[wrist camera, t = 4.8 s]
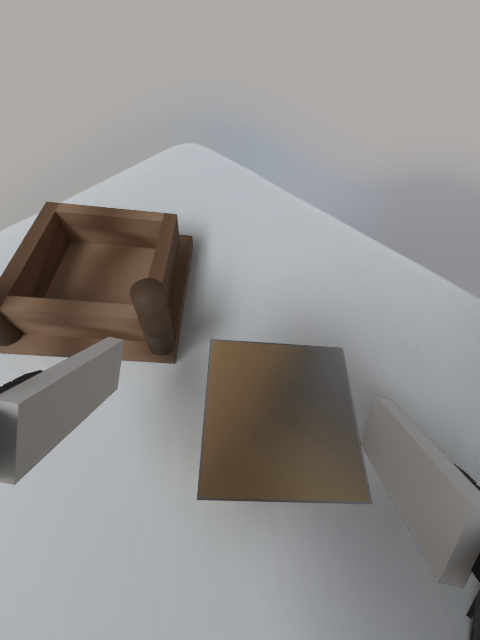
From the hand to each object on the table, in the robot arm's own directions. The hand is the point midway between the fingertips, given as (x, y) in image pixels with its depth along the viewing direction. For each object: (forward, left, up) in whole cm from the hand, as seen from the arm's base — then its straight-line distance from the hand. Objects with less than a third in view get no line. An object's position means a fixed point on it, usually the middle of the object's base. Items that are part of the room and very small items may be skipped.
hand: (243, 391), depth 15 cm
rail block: (-1, +2, -5) cm, 6 cm away
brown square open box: (+10, -10, -5) cm, 15 cm away
